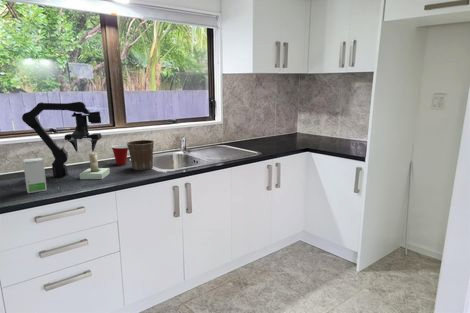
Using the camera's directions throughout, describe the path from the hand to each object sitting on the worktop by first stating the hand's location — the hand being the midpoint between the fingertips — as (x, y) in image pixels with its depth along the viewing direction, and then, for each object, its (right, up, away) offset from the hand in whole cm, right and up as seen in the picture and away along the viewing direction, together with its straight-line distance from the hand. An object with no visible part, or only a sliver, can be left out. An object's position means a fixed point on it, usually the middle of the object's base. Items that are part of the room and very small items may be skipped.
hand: (84, 151), depth 187 cm
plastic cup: (+13, -8, +25) cm, 29 cm away
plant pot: (+29, -10, +14) cm, 34 cm away
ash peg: (+7, -14, -3) cm, 16 cm away
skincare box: (-11, -20, -27) cm, 35 cm away
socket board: (+7, -14, -3) cm, 16 cm away
